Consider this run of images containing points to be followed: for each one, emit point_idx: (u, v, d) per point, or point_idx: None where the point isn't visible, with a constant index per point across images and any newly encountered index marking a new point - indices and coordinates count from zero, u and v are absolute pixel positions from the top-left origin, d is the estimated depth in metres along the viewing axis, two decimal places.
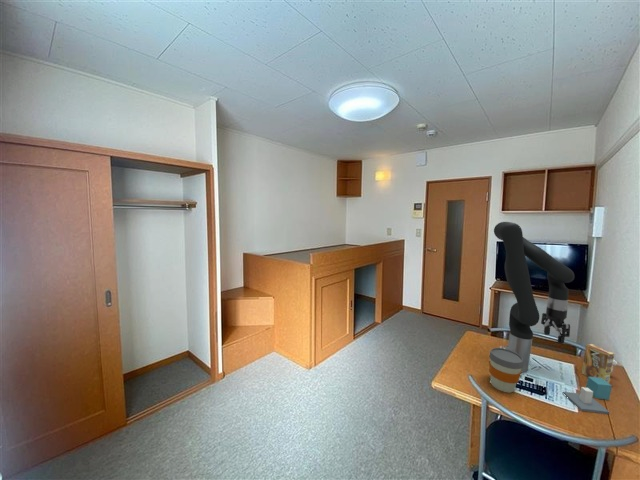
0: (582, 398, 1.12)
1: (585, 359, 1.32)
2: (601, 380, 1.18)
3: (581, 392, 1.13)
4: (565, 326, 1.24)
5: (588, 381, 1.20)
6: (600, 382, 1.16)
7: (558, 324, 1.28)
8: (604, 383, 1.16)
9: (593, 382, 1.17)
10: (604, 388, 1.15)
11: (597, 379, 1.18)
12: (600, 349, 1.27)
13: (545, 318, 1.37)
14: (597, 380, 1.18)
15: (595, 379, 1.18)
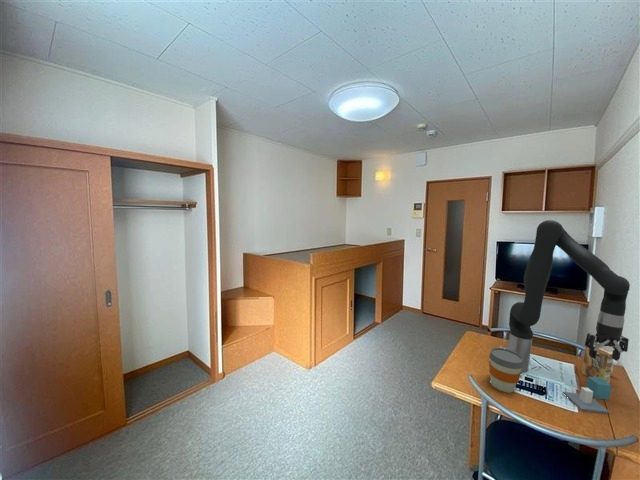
0: (582, 398, 1.12)
1: (585, 359, 1.32)
2: (601, 380, 1.18)
3: (581, 392, 1.13)
4: None
5: (588, 381, 1.20)
6: (600, 382, 1.16)
7: (618, 341, 1.13)
8: (604, 383, 1.16)
9: (593, 382, 1.17)
10: (604, 388, 1.15)
11: (597, 379, 1.18)
12: (600, 349, 1.27)
13: None
14: (597, 380, 1.18)
15: (595, 379, 1.18)
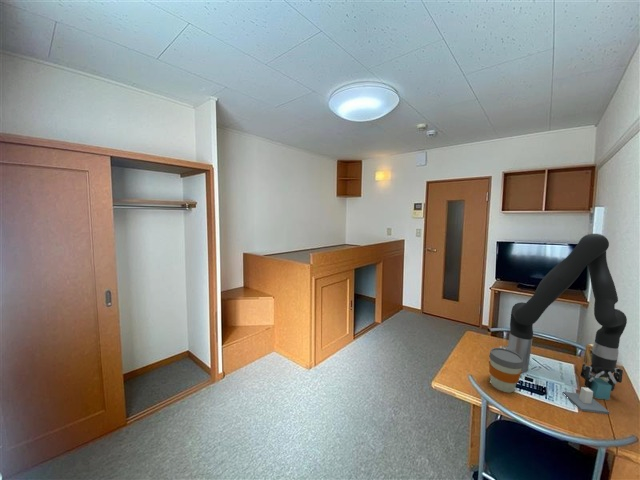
0: (582, 398, 1.12)
1: (585, 359, 1.32)
2: (601, 380, 1.18)
3: (581, 392, 1.13)
4: None
5: None
6: (600, 382, 1.16)
7: (612, 372, 1.16)
8: (604, 383, 1.16)
9: (593, 382, 1.17)
10: (604, 388, 1.15)
11: (597, 379, 1.18)
12: None
13: None
14: (597, 380, 1.18)
15: (595, 379, 1.18)
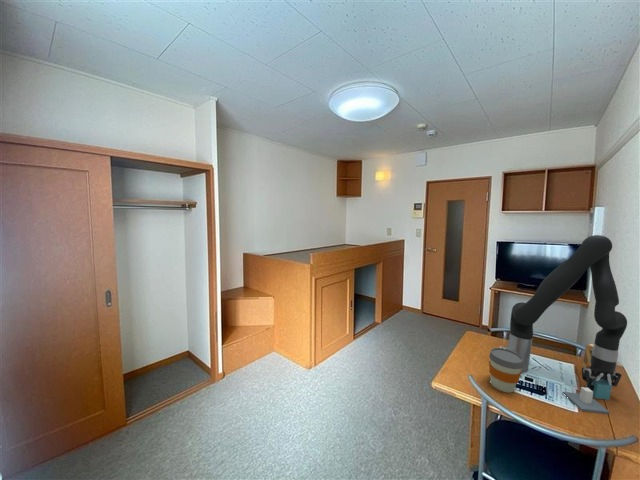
0: (582, 398, 1.12)
1: (585, 359, 1.32)
2: (601, 380, 1.18)
3: (581, 392, 1.13)
4: None
5: None
6: (600, 382, 1.16)
7: (611, 375, 1.15)
8: (604, 383, 1.16)
9: None
10: (604, 388, 1.15)
11: None
12: None
13: None
14: None
15: None
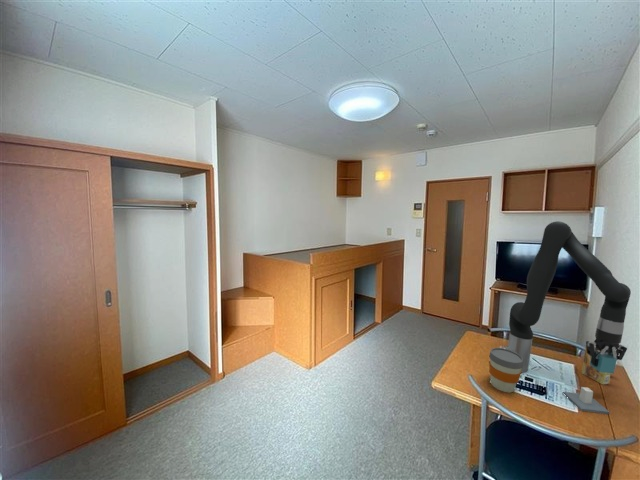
0: (582, 398, 1.12)
1: (585, 359, 1.32)
2: (606, 354, 1.16)
3: (581, 392, 1.13)
4: None
5: None
6: (605, 356, 1.14)
7: None
8: (609, 357, 1.14)
9: None
10: (609, 361, 1.13)
11: None
12: None
13: None
14: None
15: None
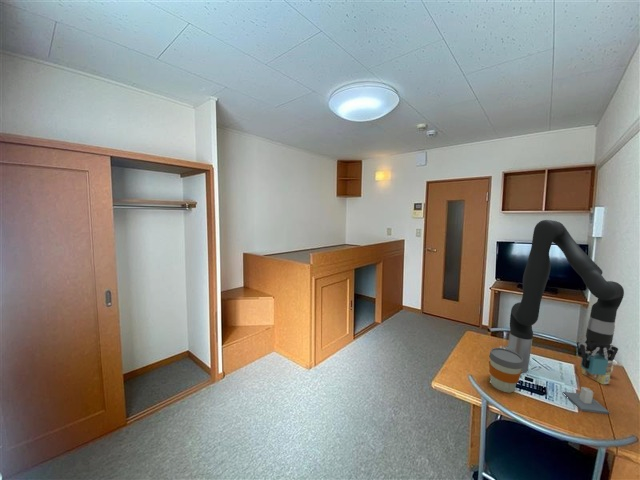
0: (582, 398, 1.12)
1: None
2: (597, 355, 1.11)
3: (581, 392, 1.13)
4: None
5: None
6: (596, 357, 1.10)
7: (607, 349, 1.09)
8: (600, 358, 1.09)
9: None
10: (600, 363, 1.09)
11: None
12: None
13: None
14: None
15: None
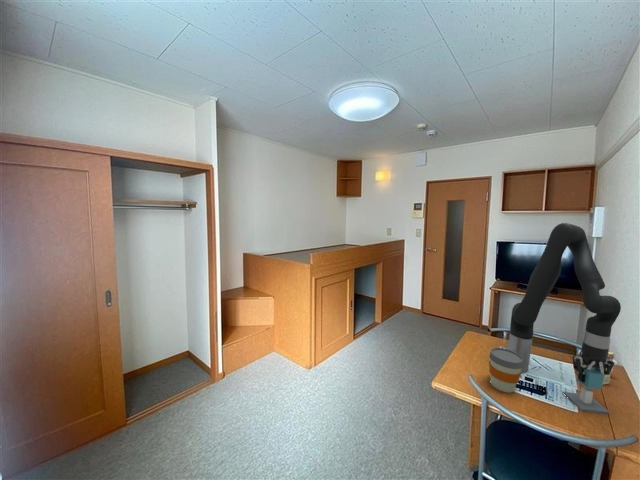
0: (582, 398, 1.12)
1: None
2: (593, 369, 1.11)
3: (581, 392, 1.13)
4: None
5: None
6: (592, 371, 1.10)
7: (603, 363, 1.09)
8: (596, 372, 1.09)
9: None
10: (596, 377, 1.08)
11: None
12: None
13: None
14: None
15: None
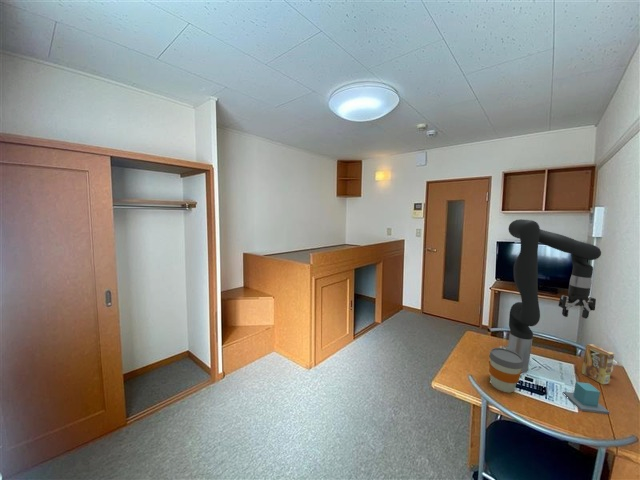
0: None
1: (585, 359, 1.32)
2: (589, 386, 1.12)
3: None
4: None
5: (576, 387, 1.14)
6: (588, 388, 1.11)
7: (586, 301, 1.29)
8: (592, 389, 1.10)
9: (581, 388, 1.12)
10: (592, 394, 1.09)
11: (585, 385, 1.13)
12: (600, 349, 1.27)
13: None
14: (585, 386, 1.12)
15: (583, 385, 1.13)
